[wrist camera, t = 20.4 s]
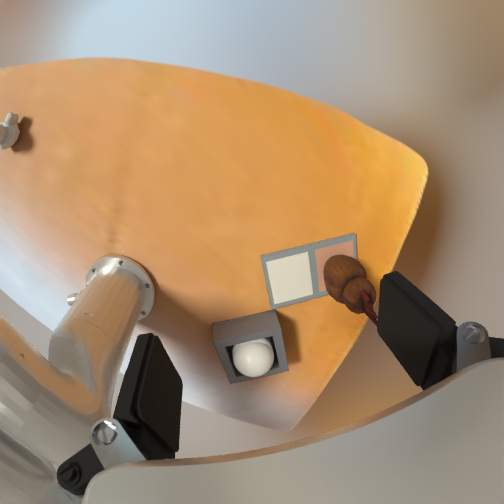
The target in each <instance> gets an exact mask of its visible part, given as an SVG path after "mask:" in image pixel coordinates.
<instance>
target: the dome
mask: <svg viewBox="0 0 504 504" xmlns="http://www.w3.org/2000/svg"><path fill="white" fill-rule="evenodd" d="M232 355H233V362H234V365H235V367H236V368H237V370H238V371H239V372H241V373H242V374H244V375H246V376H249V377H257V376H261V375H263V374H265V373H266V372H268V371H269V369H270V368H271V367H272V364H273V361H274V353H273V349H272V345H271V342H270V338H269V337H266V338H262V339H258V340H253V341H249V342H245V343H240V344H236V345H232Z"/></svg>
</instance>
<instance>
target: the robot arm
mask: <svg viewBox="0 0 504 504" xmlns="http://www.w3.org/2000/svg"><path fill="white" fill-rule="evenodd" d="M122 261H123V262H122ZM147 283H148V284H147ZM67 301H68V304H69V305H70V306H72V307H71V308H70V309H69V311H68V312H67V314H66V315H65V316H64V318H63V319H62V321H61V322H60V323H59V325H58V326H57V328H56V329H55V331H54V333H53V335H52V337H51V340H50V345H49V361H48V360H47V359H45V357H43V356H42V355H41V354H40V353H39V352H38V351H37V350H36V349H35V348H34V347H33V346H32V345H31V344H30V343H29V342H28V341H27V340H26V339H25V338H24V337H23V336H22V335H21V334H20V333H19V332H18V331H17V330H16V328H15V327H13V325H12V324H11V323H10V322H9V321H7V320H6V319H5V318H4V317H2V316H1V315H0V504H504V339H502V338H493V337H489V336H488V332H487V330H486V329H485V327H484V326H482V325H481V324H479V323H477V322H465V323H463V324H461V325H460V326H459V327H457V326H456V325H455V324H456V322H455V321H454V320H453V319H452V318H451V317H450V316H449V315H448V314H447V313H445V312H444V311H443V310H442V309H441V308H440V307H439V306H438V305H436V304H435V303H434V302H433V301H432V300H431V299H430V298H428V297H427V296H426V295H425V294H424V293H422V292H421V291H420V290H419V289H418V288H417V287H416V286H414V285H413V284H412V283H411V282H410V281H408V280H407V279H406V278H405V277H404V276H402V275H401V274H400V273H399V272H397V271H394V272H391V273H388V274H385V275H384V276H383V279H381V281H380V297H379V312H378V325H377V330H378V333H379V335H380V337H381V338H382V339H383V341H384V342H385V343H386V345H387V346H388V347H389V349H390V350H391V351H392V352H393V354H394V355H395V357H396V358H397V360H398V361H399V362H400V364H401V365H402V366H403V368H404V369H405V370H406V372H407V373H408V375H409V376H410V377H411V379H412V380H413V382H414V383H415V384H416V385H417V386H421V388H422V389H423V391H422V392H420V393H419V394H417V395H415V396H413V397H411V398H409V399H407V400H405V401H403V402H401V403H399V404H397V405H395V406H392V407H390V408H388V409H386V410H383V411H381V412H379V413H376V414H374V415H372V416H370V417H367V418H364V419H362V420H359V421H357V422H354V423H351V424H349V425H346V426H343V427H340V428H337V429H335V430H331V431H328V432H325V433H322V434H319V435H315V436H312V437H308V438H305V439H301V440H298V441H294V442H290V443H285V444H281V445H277V446H272V447H267V448H263V449H257V450H252V451H247V452H240V453H233V454H226V455H217V456H208V457H198V458H184V459H175V452H178V450H179V435H180V416H181V402H182V389H183V384H182V380H181V377H180V376H179V374H178V372H177V370H176V369H175V367H174V365H173V363H172V362H171V360H170V358H169V356H168V354H167V352H166V350H165V349H164V347H163V345H162V343H161V341H160V339H159V337H158V336H154V334H153V333H147V334H141V335H138V337H137V340H136V343H135V346H134V349H133V352H132V355H131V358H130V362H129V365H128V368H127V370H126V372H125V375H124V379H123V382H122V386H121V389H120V393H119V396H118V400H117V404H116V407H115V411H114V415H113V418H111V406H112V398H113V393H114V388H115V384H116V380H117V377H118V374H119V371H120V368H121V365H122V362H123V359H124V356H125V353H126V350H127V347H128V345H129V342H130V339H131V336H132V334H133V331H134V328H135V325H136V323H137V321H139V320H141V319H143V318H145V317H146V316H147V315H148V314H149V312H150V311H151V309H152V307H153V304H154V301H155V289H154V285H153V282H152V280H151V278H150V276H149V274H148V273H147V272H146V270H145V269H144V268H143V267H142V266H141V265H139V264H138V263H137V262H135V261H134V260H132V259H130V258H128V257H125V256H121V255H107V256H104V257H102V258H100V259H98V260H97V261H95V263H94V264H93V265H92V266H91V267H90V269H89V270H88V273H87V276H86V288H85V289H84V290H82V291H80V293H78V294H77V293H76V294H72V295H69V296H68V297H67ZM433 385H434V386H433ZM431 386H432V387H431ZM51 463H53V464H55V465H57V466H59V468H58V470H57V472H56V470H55V468H54V466H53V465H52V464H51Z"/></svg>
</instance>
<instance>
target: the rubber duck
mask: <svg viewBox="0 0 504 504" xmlns="http://www.w3.org/2000/svg"><path fill="white" fill-rule="evenodd" d="M18 118H19V116H18V114H13V113H12V112H10V113H8V114H7V117H6V119H5V121H2V122H0V149H7V148H9V147H11V146H12V145H13V144H14V143H15V142H16V141H17V139H18V136H19V134H20V130H19V127H18V125H17V121H18Z"/></svg>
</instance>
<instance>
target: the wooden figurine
mask: <svg viewBox="0 0 504 504" xmlns="http://www.w3.org/2000/svg"><path fill="white" fill-rule="evenodd" d="M323 274H324V282H325V287H326V290H327V292H328V293H329V295H330V296H331V297H333V298H334V299H335V300H336V301H337V302H340V303H343V304H345V305H346V306H347V308H348V309H349V310H350V311H352V312H354V313H357V314H360V313H365V314H366V315H367V316H368V317H369V318H370V319H371V320H372V322H373V323H374V324H375V325H376V326H377V325H378V322H377V320H376V319H377V318H378V317H377V315H376V313H375V312H374V310H373V304H374V303H375V300H376V291H375V288H374V286H373V285H372V284H371V283H370V281H369V280H367V279H366V272H365V269H364V268H363V266H362V265H361V264H360V263H359V262H358V261H357V260H356V259H354V258H352V257H350V256H346V255H334V256H332V257H330V258H329V259H328V260H327V261H326V263H325V266H324V270H323Z"/></svg>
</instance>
